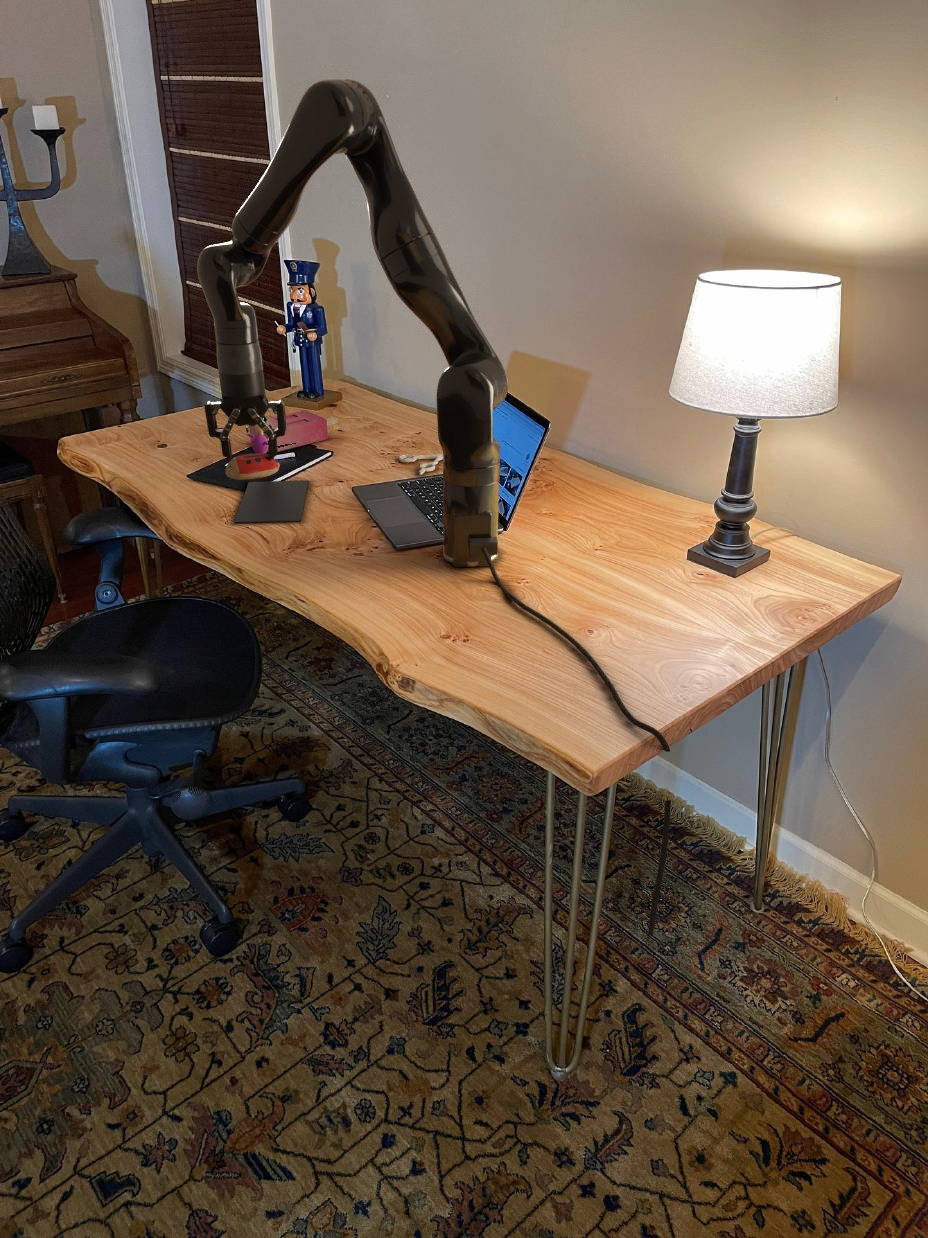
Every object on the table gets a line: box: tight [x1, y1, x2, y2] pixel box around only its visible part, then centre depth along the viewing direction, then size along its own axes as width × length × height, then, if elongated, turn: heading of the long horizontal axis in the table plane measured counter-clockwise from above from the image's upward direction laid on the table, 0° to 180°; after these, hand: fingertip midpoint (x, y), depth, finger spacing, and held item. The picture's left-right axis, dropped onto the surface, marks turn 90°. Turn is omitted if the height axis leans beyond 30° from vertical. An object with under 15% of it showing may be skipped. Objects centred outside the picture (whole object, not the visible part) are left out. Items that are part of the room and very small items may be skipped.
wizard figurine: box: [245, 424, 268, 454], centre depth 185 cm, size 11×3×12 cm, turn 41°
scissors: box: [398, 452, 443, 476], centre depth 195 cm, size 11×1×20 cm
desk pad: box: [233, 480, 310, 524], centre depth 174 cm, size 20×12×1 cm, turn 4°
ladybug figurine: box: [224, 452, 281, 481], centre depth 165 cm, size 7×10×4 cm
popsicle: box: [248, 409, 339, 453], centre depth 205 cm, size 9×5×20 cm
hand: (251, 458), depth 164 cm, fingers closed on ladybug figurine, 7 cm apart
